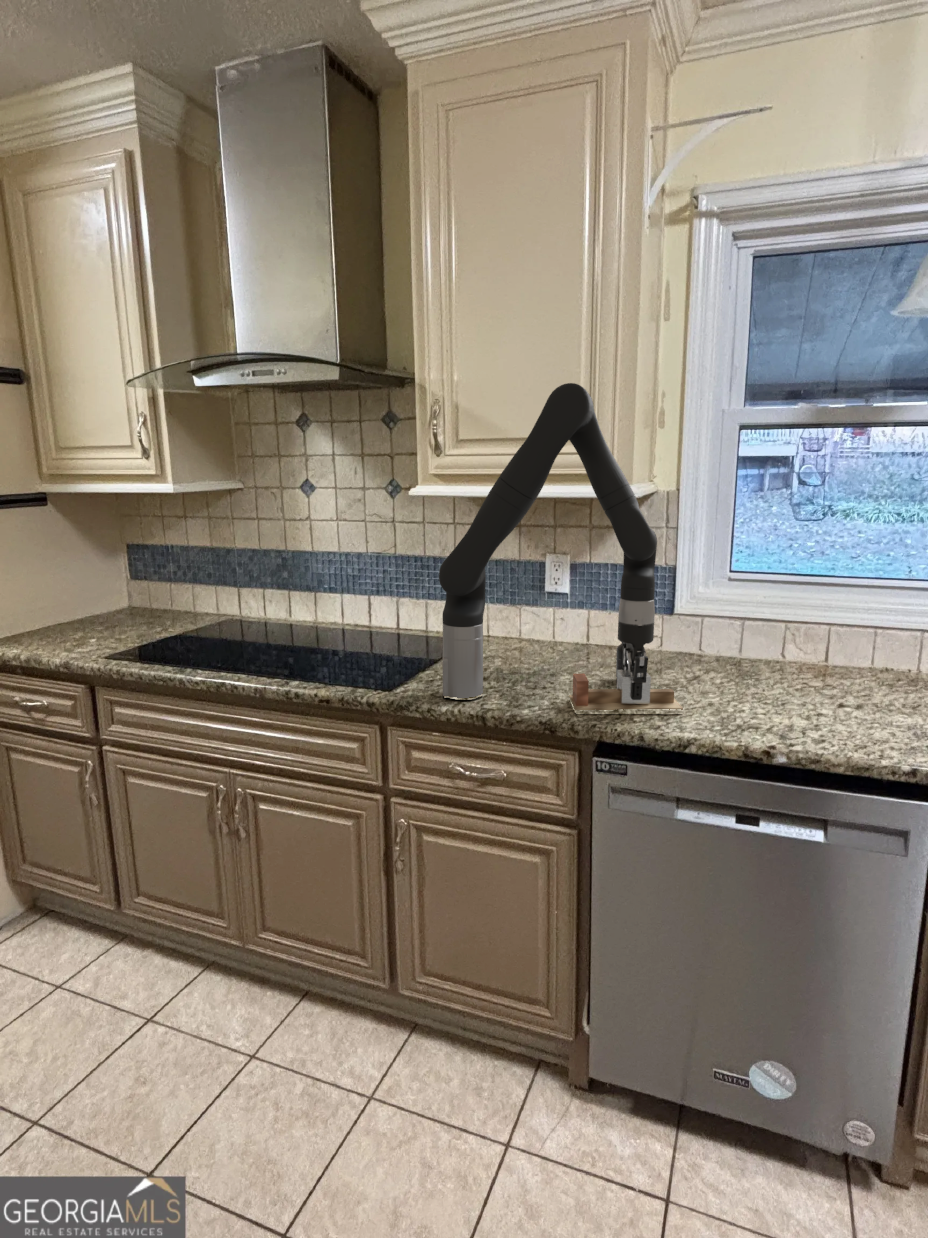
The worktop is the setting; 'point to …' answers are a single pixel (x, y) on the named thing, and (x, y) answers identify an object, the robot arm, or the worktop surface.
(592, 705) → the rail
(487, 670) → the worktop surface
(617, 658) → the supplement bottle
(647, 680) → the block
